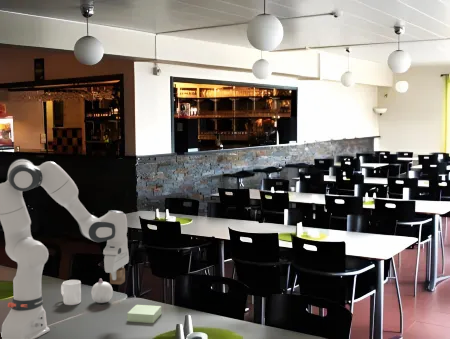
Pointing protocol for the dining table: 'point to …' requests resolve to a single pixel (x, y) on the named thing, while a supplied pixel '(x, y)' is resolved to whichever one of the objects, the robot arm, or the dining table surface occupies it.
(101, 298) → the ornament
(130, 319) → the base box
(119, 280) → the walnut block
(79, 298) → the cup
